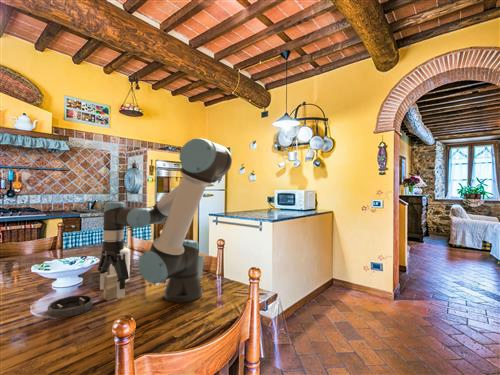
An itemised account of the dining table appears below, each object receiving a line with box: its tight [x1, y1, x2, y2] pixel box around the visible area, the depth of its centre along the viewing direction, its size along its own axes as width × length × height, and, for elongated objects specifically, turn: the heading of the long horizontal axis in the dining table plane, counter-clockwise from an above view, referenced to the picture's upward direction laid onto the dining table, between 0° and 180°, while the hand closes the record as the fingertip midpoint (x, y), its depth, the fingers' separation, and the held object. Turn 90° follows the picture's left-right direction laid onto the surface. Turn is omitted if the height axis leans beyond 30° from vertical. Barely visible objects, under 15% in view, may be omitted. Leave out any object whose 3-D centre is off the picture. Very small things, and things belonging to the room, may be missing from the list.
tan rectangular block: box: [103, 273, 118, 301], centre depth 104 cm, size 3×5×9 cm, turn 145°
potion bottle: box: [109, 242, 131, 284], centre depth 122 cm, size 8×8×18 cm
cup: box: [198, 255, 205, 280], centre depth 129 cm, size 8×8×10 cm
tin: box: [47, 294, 94, 318], centre depth 93 cm, size 13×13×2 cm
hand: (111, 292), depth 104 cm, fingers open, 13 cm apart
